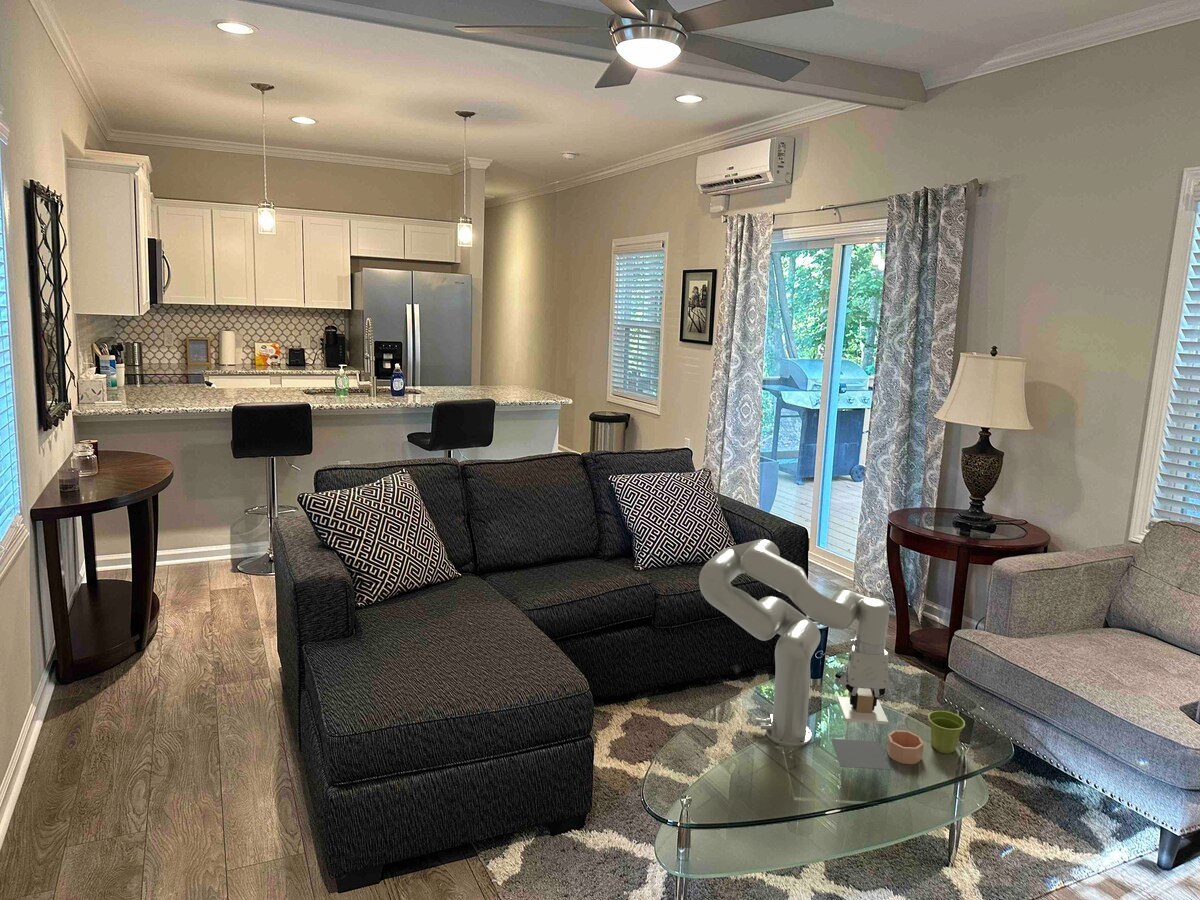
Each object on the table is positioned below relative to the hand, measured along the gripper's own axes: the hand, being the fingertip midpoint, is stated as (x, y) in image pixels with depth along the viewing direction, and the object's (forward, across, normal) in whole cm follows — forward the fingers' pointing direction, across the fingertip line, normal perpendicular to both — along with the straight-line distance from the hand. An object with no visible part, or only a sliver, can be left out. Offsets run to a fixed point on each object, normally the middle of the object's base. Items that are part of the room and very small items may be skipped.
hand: (862, 706), depth 225 cm
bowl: (+14, +13, +1) cm, 19 cm away
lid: (+1, 0, 0) cm, 1 cm away
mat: (+14, +1, 0) cm, 15 cm away
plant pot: (+14, +25, +6) cm, 29 cm away
